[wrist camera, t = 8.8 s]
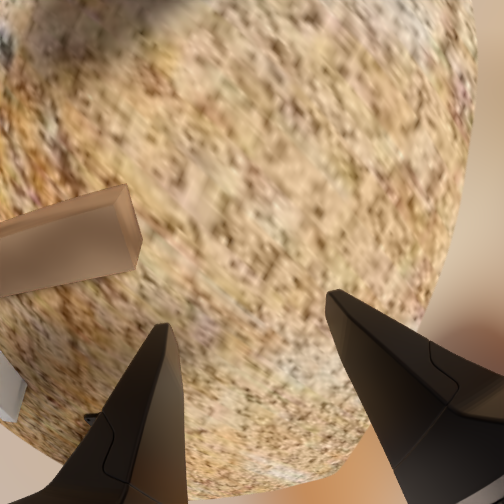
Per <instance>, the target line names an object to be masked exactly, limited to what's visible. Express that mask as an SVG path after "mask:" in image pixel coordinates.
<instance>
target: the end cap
mask: <svg viewBox="0 0 504 504" xmlns="http://www.w3.org/2000/svg"><path fill="white" fill-rule="evenodd" d="M27 385H28V384H27V383H26V382H25V381H24V380H23V379H22V377H21V376H20V375H19V374H18V372H17V371H16V370H15V369H14V367H13V366H12V365H11V363H10V362H9V361H8V360H7V358H6V357H5V356H4V354H3V353H2V351H1V350H0V418H1V419H2V420H3V421H8V422H15V423H17V419H18V415H19V412H20V408H21V405H22V401H23V398H24V394H25V391H26V388H27Z"/></svg>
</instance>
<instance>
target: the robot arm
mask: <svg viewBox="0 0 504 504" xmlns="http://www.w3.org/2000/svg"><path fill="white" fill-rule="evenodd" d="M325 316H326V320H327V323H328V326H329V328H330V331H331V334H332V337H333V340H334V342H335V345H336V348H337V351H338V354H339V356H340V359H341V361H342V364H343V366H344V368H345V370H346V372H347V374H348V376H349V378H350V380H351V382H352V384H353V386H354V388H355V390H356V392H357V394H358V396H359V399H360V401H361V403H362V405H363V407H364V409H365V411H366V413H367V415H368V417H369V419H370V422H371V424H372V426H373V428H374V430H375V432H376V434H377V436H378V439H379V441H380V443H381V445H382V447H383V449H384V452H385V454H386V456H387V458H388V460H389V462H390V464H391V467H392V469H393V471H394V474H395V476H396V478H397V480H398V483H399V485H400V487H401V489H402V492H403V494H404V496H405V498H406V500H407V503H408V504H504V376H502V375H500V374H497V373H495V372H493V371H491V370H488V369H486V368H484V367H482V366H480V365H477V364H475V363H473V362H471V361H469V360H466V359H464V358H462V357H460V356H458V355H456V354H454V353H452V352H450V351H448V350H447V349H445V348H443V347H441V346H439V345H438V344H436V343H434V342H432V341H429V340H428V339H427V338H425V337H424V336H422V335H420V334H418V333H417V332H415V331H413V330H411V329H410V328H408V327H406V326H404V325H403V324H401V323H399V322H397V321H396V320H394V319H392V318H390V317H389V316H387V315H385V314H383V313H382V312H380V311H378V310H376V309H375V308H373V307H371V306H369V305H368V304H366V303H364V302H362V301H361V300H359V299H357V298H355V297H354V296H352V295H350V294H348V293H346V292H345V291H343V290H341V289H336V290H332V291H328V292H327V294H326V305H325ZM84 420H85V421H86V422H87V423H88V424H89V425H90V426H91V428H90V429H89V431H88V433H87V434H86V436H85V437H84V439H83V440H82V441H81V443H80V444H79V446H78V447H77V448H76V450H75V451H74V452H73V454H72V455H71V456H70V458H69V459H68V460H67V462H66V463H65V464H64V466H63V467H62V469H61V470H60V471H59V473H58V474H57V475H56V477H55V478H54V479H53V480H52V482H51V483H50V484H49V485H47V486H46V487H45V488H44V489H42V490H41V491H39V492H37V493H35V494H32V495H30V496H27V497H25V498H22V499H19V500H17V501H14V502H12V503H9V504H188V496H187V480H186V461H185V433H184V392H183V383H182V375H181V367H180V359H179V350H178V344H177V341H176V338H175V335H174V333H173V330H172V327H171V325H170V324H169V323H160V324H156V325H155V326H154V327H153V329H152V330H151V332H150V334H149V335H148V337H147V338H146V340H145V341H144V343H143V344H142V346H141V347H140V349H139V351H138V352H137V354H136V355H135V357H134V358H133V360H132V362H131V363H130V365H129V366H128V368H127V370H126V371H125V373H124V374H123V376H122V378H121V379H120V381H119V382H118V384H117V386H116V387H115V389H114V390H113V392H112V394H111V395H110V397H109V399H108V400H107V402H106V404H105V405H104V407H103V408H102V412H100V413H99V414H95V415H85V417H84Z"/></svg>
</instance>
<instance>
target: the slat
mask: <svg viewBox="0 0 504 504" xmlns="http://www.w3.org/2000/svg"><path fill="white" fill-rule="evenodd" d="M142 241H143V238H142V235H141V232H140V228H139V225H138V222H137V218H136V215H135V212H134V208H133V205H132V201H131V197H130V194H129V190H128V186H127V183H126V184H122V185H118V186H115V187H111V188H107V189H103V190H100V191H96V192H92V193H89V194H85V195H82V196H79V197H75V198H72V199H69V200H65V201H62V202H59V203H56V204H52V205H49V206H46V207H43V208H40V209H37V210H34V211H31V212H28V213H25V214H23V215H20V216H17V217H14V218H11V219H9V220H6V221H3V222H1V223H0V298H1V297H5V296H10V295H15V294H20V293H25V292H29V291H34V290H39V289H44V288H49V287H54V286H59V285H63V284H68V283H73V282H78V281H83V280H88V279H93V278H98V277H103V276H108V275H113V274H117V273H122V272H127V271H132V270H135V269H136V265H137V261H138V257H139V253H140V249H141V245H142Z"/></svg>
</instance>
